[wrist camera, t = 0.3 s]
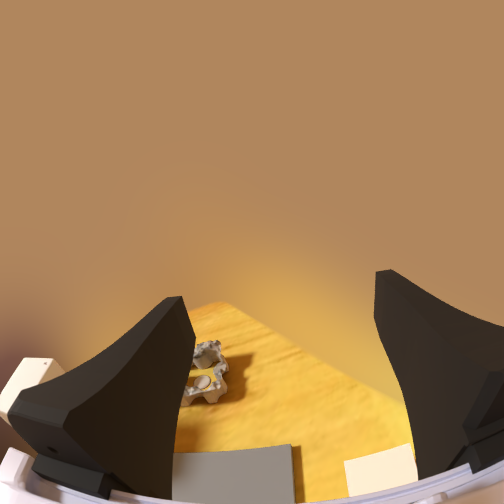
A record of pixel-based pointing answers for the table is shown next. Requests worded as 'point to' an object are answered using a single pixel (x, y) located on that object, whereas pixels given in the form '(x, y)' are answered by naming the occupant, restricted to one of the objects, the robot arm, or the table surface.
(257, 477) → the mat
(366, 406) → the table surface
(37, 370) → the small box
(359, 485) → the cube
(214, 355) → the egg carton
